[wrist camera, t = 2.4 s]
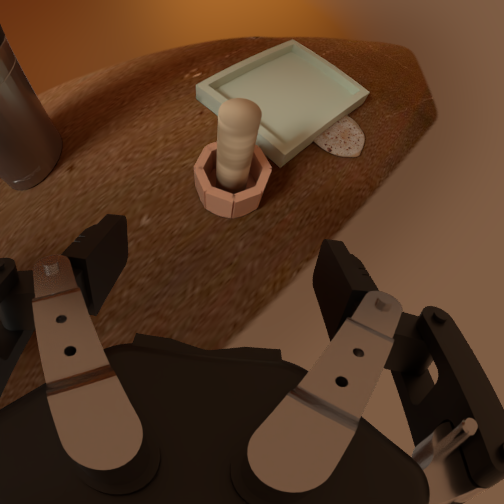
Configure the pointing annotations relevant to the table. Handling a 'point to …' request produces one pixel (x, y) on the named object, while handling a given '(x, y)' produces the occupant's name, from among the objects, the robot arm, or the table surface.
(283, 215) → the table surface
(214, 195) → the pin holder cup
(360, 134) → the flatbread
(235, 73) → the sage tray
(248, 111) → the beech pin
